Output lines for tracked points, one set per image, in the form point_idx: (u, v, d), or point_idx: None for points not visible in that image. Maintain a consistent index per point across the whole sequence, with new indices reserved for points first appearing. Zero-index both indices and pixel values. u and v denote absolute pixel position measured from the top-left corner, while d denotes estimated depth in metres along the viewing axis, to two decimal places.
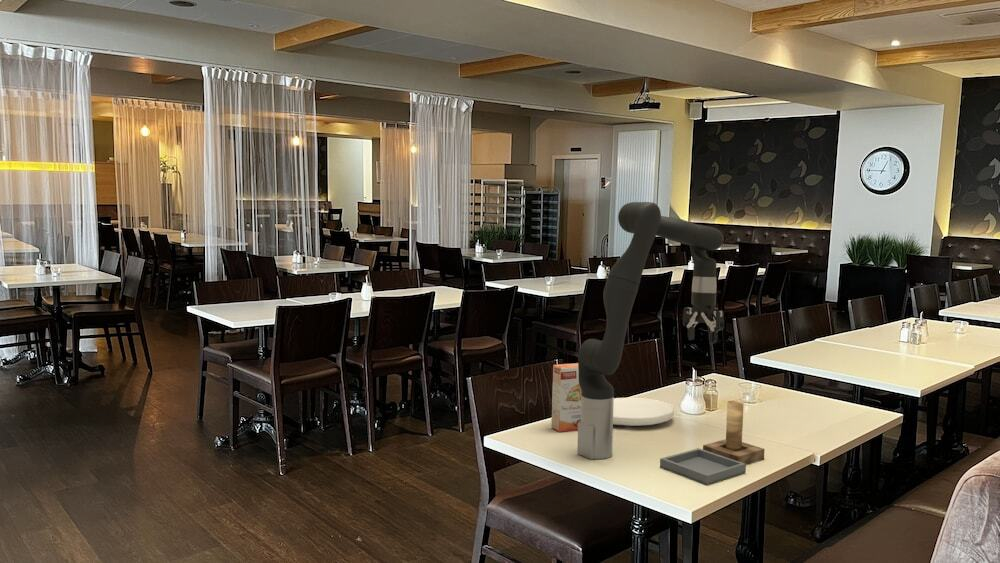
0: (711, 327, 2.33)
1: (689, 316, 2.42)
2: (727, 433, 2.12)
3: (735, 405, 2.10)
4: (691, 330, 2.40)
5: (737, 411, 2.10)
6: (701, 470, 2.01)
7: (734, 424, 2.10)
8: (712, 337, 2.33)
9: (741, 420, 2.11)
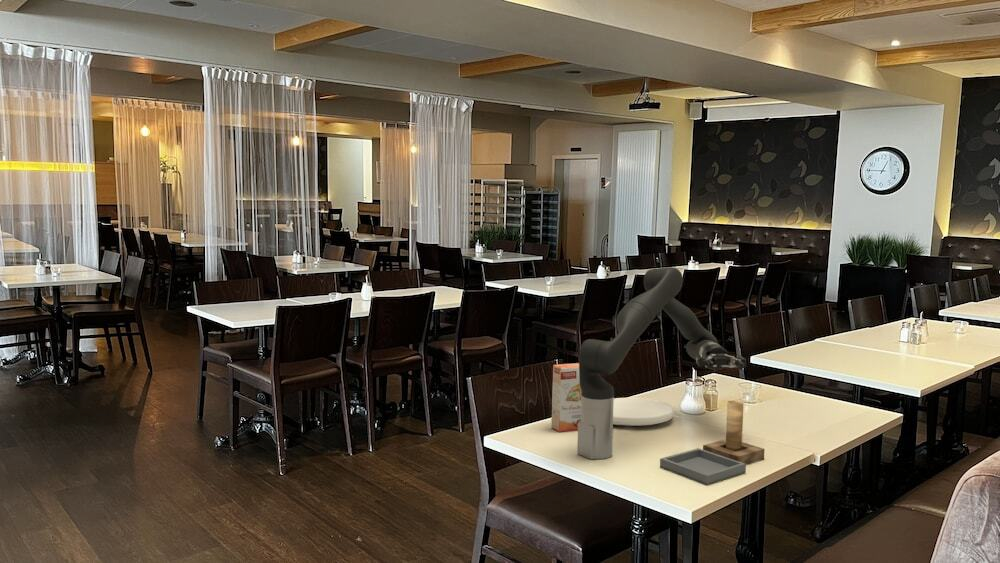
0: (736, 358, 2.27)
1: None
2: (727, 433, 2.12)
3: (735, 405, 2.10)
4: None
5: (737, 411, 2.10)
6: (701, 470, 2.01)
7: (734, 424, 2.10)
8: (740, 362, 2.23)
9: (741, 420, 2.11)
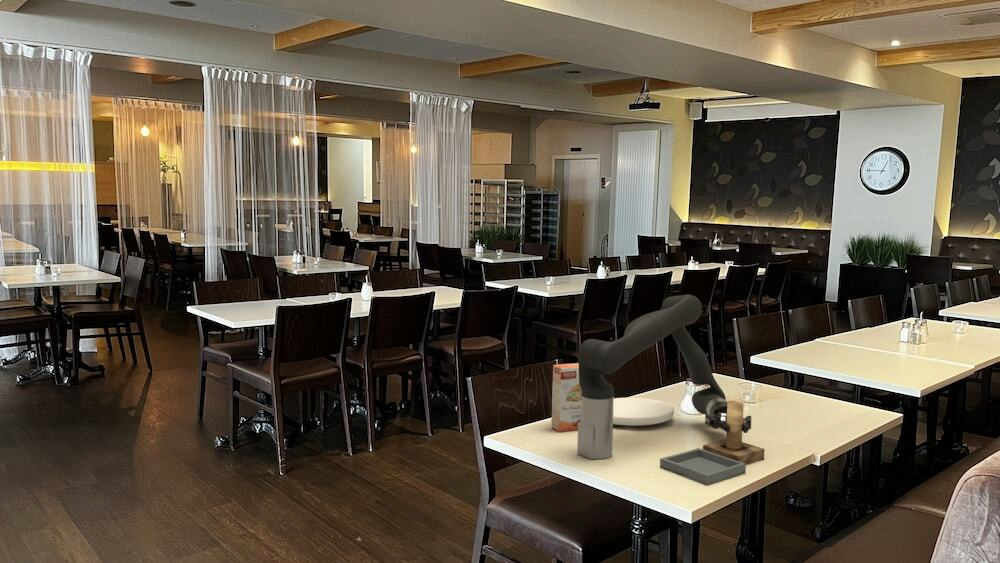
0: None
1: None
2: (727, 433, 2.12)
3: (735, 405, 2.10)
4: None
5: (737, 411, 2.10)
6: (701, 470, 2.01)
7: (734, 424, 2.10)
8: (745, 424, 2.11)
9: (741, 420, 2.11)
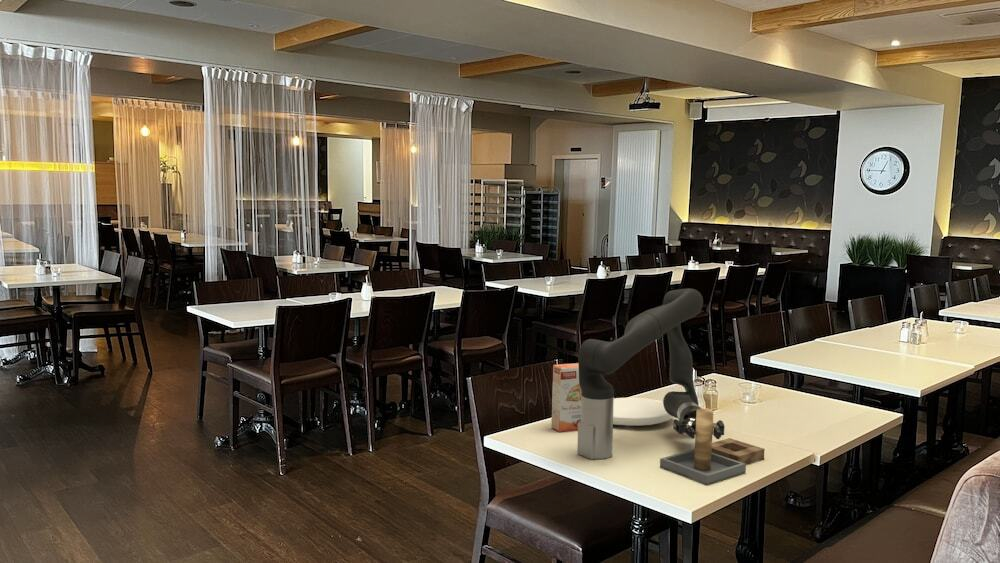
0: (714, 425, 2.04)
1: None
2: (696, 443, 2.01)
3: (704, 414, 1.98)
4: None
5: (707, 420, 1.99)
6: None
7: (703, 434, 1.99)
8: (717, 430, 2.00)
9: (711, 430, 1.99)
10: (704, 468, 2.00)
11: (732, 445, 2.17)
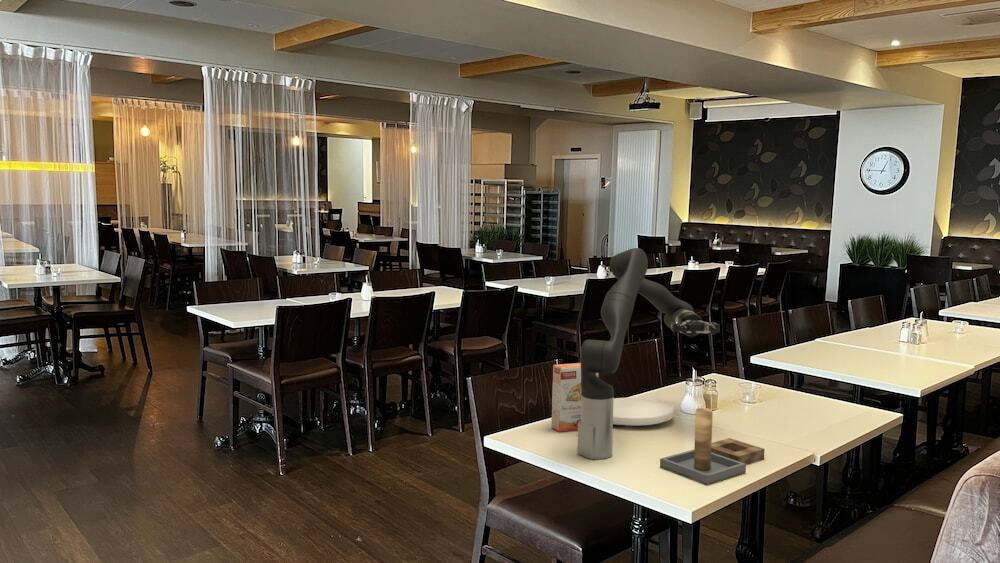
0: (710, 324, 2.30)
1: None
2: (696, 443, 2.01)
3: (703, 413, 1.99)
4: None
5: (706, 420, 1.99)
6: None
7: (703, 433, 1.99)
8: (713, 327, 2.27)
9: (710, 429, 2.00)
10: (704, 468, 2.00)
11: (732, 445, 2.17)
